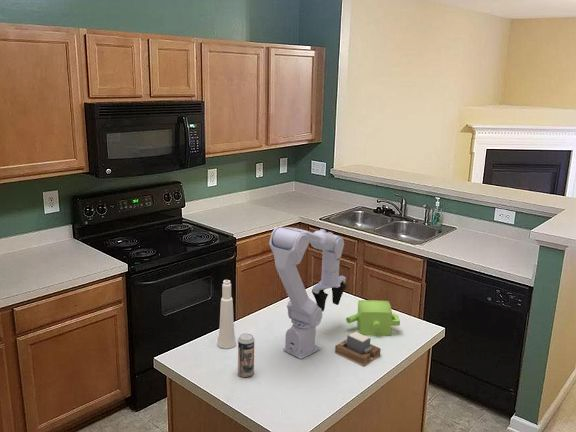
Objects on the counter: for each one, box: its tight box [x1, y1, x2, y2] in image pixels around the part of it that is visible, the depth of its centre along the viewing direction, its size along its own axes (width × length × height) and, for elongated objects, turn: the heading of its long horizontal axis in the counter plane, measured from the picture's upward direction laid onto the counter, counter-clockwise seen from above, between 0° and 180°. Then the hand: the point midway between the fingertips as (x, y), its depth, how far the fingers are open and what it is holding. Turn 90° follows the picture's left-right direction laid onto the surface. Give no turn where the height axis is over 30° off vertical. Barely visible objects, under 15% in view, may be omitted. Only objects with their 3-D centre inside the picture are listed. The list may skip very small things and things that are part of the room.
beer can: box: [237, 333, 256, 378], centre depth 157 cm, size 5×5×12 cm
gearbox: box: [345, 299, 401, 337], centre depth 185 cm, size 18×10×10 cm, turn 89°
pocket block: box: [334, 338, 382, 367], centre depth 171 cm, size 9×11×3 cm
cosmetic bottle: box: [216, 279, 237, 350], centre depth 171 cm, size 6×6×22 cm
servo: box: [344, 331, 372, 355], centre depth 170 cm, size 4×8×6 cm, turn 46°
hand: (328, 307), depth 182 cm, fingers open, 7 cm apart
